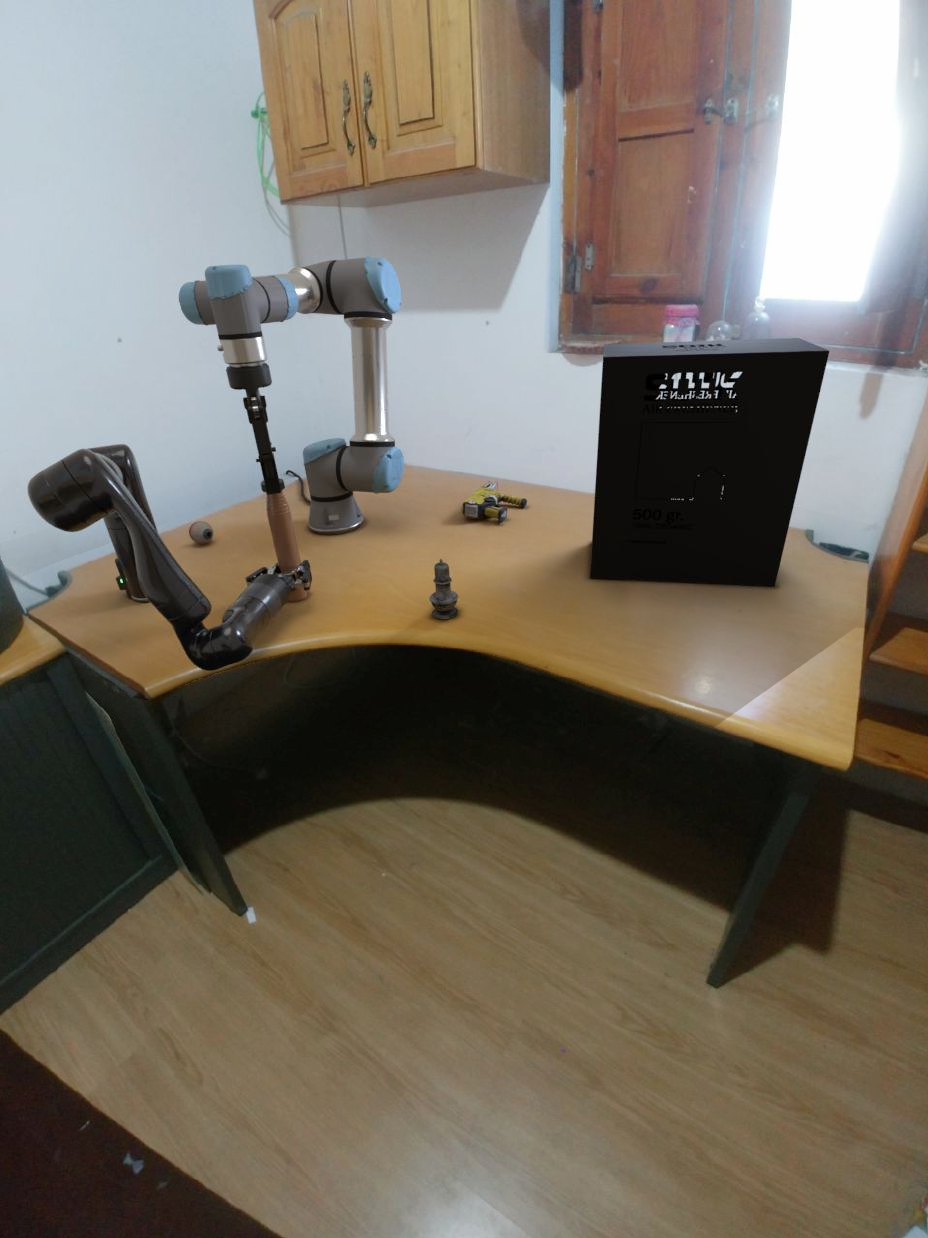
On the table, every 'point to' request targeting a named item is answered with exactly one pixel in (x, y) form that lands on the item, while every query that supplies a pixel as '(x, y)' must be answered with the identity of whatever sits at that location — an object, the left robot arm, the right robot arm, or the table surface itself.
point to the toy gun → (489, 503)
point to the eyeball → (201, 532)
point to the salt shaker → (443, 593)
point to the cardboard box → (701, 458)
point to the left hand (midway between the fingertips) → (295, 563)
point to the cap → (279, 483)
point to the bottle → (284, 538)
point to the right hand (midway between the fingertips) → (273, 489)
